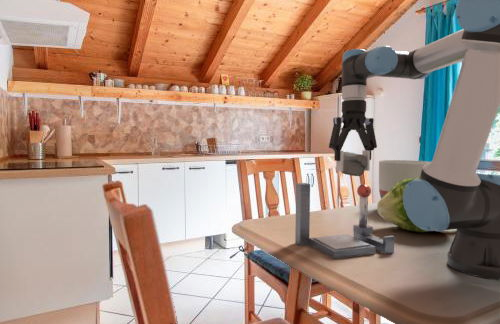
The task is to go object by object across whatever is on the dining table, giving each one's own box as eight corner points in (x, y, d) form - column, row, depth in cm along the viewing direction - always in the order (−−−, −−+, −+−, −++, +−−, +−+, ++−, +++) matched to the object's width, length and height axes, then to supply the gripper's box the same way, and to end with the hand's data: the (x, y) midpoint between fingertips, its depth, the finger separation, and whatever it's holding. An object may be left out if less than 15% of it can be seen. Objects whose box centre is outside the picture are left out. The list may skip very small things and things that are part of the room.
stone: (334, 173, 111) (339, 143, 114) (335, 181, 119) (339, 153, 122) (364, 177, 109) (368, 146, 112) (363, 184, 117) (366, 156, 120)
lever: (372, 233, 107) (374, 185, 106) (361, 234, 106) (362, 185, 105) (364, 230, 111) (365, 183, 110) (353, 231, 109) (354, 183, 108)
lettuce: (374, 223, 134) (370, 177, 131) (441, 217, 130) (438, 169, 126) (386, 246, 115) (381, 192, 112) (464, 240, 111) (462, 184, 108)
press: (394, 252, 98) (396, 187, 97) (326, 261, 91) (327, 191, 89) (355, 236, 114) (356, 180, 113) (295, 243, 107) (296, 183, 105)
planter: (416, 218, 141) (418, 163, 139) (369, 210, 156) (370, 161, 154) (436, 211, 155) (438, 161, 153) (391, 204, 170) (392, 159, 168)
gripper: (374, 102, 121) (373, 169, 122) (317, 100, 113) (316, 170, 114) (390, 100, 114) (388, 170, 115) (330, 97, 106) (329, 172, 107)
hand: (352, 170), depth 115 cm, fingers closed on stone, 9 cm apart
